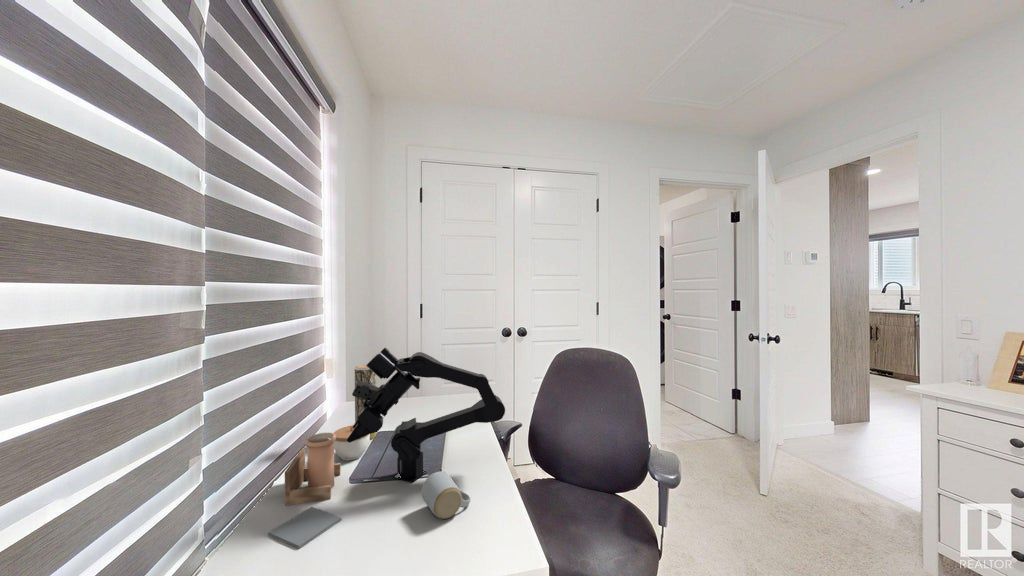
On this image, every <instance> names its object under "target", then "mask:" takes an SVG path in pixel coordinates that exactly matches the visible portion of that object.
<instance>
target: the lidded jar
mask: <svg viewBox="0 0 1024 576" xmlns="http://www.w3.org/2000/svg"><path fill="white" fill-rule="evenodd" d="M353 425H354V424H352V425H347V426H343V427H341V428H338V429H337V430H335V431H334V432H333V433H334V434H336V441H335V442H334V453H336V454H337V456H339V457H340V458H341V459H342V460H343V461H353V460H357V459H359V458H361V457H363V455H364V453H365V452H366V451H367V449H368V447H369V444H370V442H371V441H370V440H371V439H370V434H369V435H366V436H364V437H361V438H359V439H357V440H355V441H353V442H350V443H349V442H348V441H347V438H348V437H349V435H350V434H351V433H352V431H353V430H354V428H353Z"/></svg>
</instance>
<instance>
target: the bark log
mask: <svg viewBox="0 0 1024 576" xmlns="http://www.w3.org/2000/svg"><path fill="white" fill-rule="evenodd" d="M366 365H367V364H360V365H357V366H354V388H355V387H356V385H357V383H358V381H363V382H366V383H369V384H372V385H374V386H376V387H377V385H376V384H377V383H376V381H377V380H376V379H377V377H376V376H377V375H376V374H375V373H374V372H372V371H371V370H370V369H369V368H368V367H367V366H366ZM368 401H369V400H368ZM364 402H365V399H363V398H360V397H355V396H354V423H355V422H356V421H357V417H358V415H359V413H360V412H361V411H362V410H363V409H364ZM376 436H377V433H376V432H375V433H371V434H370V440H373V439H374V438H375V437H376Z"/></svg>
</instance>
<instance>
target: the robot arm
mask: <svg viewBox="0 0 1024 576" xmlns="http://www.w3.org/2000/svg"><path fill="white" fill-rule="evenodd" d="M365 365H366V366H367V367H368V368H369V369H370V370H371V371H372V372H374V373H375V374H376V376H377V377H378V378H379V379H380V380H382V379H384V380H385V379H388V378H389V379H388V380H387V382H386V383H383V384H380V386H379V387H378V386H377V385H376V386H374V385H372V384H369V383H366V382H363V381H358V383H357V385H356V387H355V386H354V389H353V391H352V394H351V395H352V396H353V397H354V398H355V397H360V398H363V399H365V402H364V409H363V410H362V411H361V412H360V413H359V415H358V417H357V421H356V422H355V421H354V424H352V425H353V428H354V430H353V431H352V433H351V434H350V435H349V437H348V438H347V441H348V442H349V443H350V442H353V441H355V440H357V439H359V438H361V437H364V436H366V435H369V434H371V433H375V432H376V434H377V433H378V432H379V431H380V430H381V428H383V424H384V417H386V415H388V412H389V410H390V409H392V407H394V405H395V406H397V404H398V403H399V400H400V399H401V398H402V397H403V396H404V395H405V394H406V393H407V392H408V391H409V390H410V389H411V387H414V388H415V389H416V390H419V389H420V387H421V386H420V385H421V383H420V381H421V378H428V379H429V378H436V379H441V380H445V381H449V382H452V383H456V384H458V385H461V386H466V387H470V388H473V389H476V390H477V392H478V394H479V395H480V398H481V399H480V400H478V401H477V402H476V403H474V404H473V405H471V406H469V407H467V408H464V409H461V410H457V411H454V412H451V413H449V414H446V415H442V416H439V417H437V418H433V419H430V420H428V421H425V422H424V421H423V422H418V421H417V418H416V417H414V418H411V419H408V420H407V421H404V420H403V421H401V424H398V425H397V426H396V427H395V429H394V431H393V433H392V434H393V435H392V437H391V441H390V446H391V448H392V450H393V451H394V452H396V453H397V459H396V461H397V463H396V464H397V465H396V466H397V467H396V469H397V474H398V473H399V474H400V476H401V478H400V477H398V478H400V479H399V480H400V481H404V482H408V483H414V482H415V481H417V480H418V479H420V478H421V477H422V476H423V475H422V474H423V473H424V472H426V471H424V470H423V469H424V452H423V451H422V443H423V442H425V441H427V439H431V438H434V437H436V436H439V435H442V434H446V433H448V432H451V431H454V430H457V429H460V428H463V427H466V426H469V425H472V424H475V423H480V424H481V423H482V424H487V423H494V422H498V421H501V420H502V419H503V418H504V416H505V413H506V407H505V404H504V403H503V401H502V400H501V398H500V397H499V396H497V395H496V394H495V393H494V391H493V389H492V388H491V386H490V382H489V379H488V378H487V376H486V375H485V374H483V373H477V372H473V371H470V370H467V369H464V368H461V367H456V366H453V365H450V364H447V363H444V362H441V361H440V360H438V359H436V358H435V357H433V356H431V355H429V354H427V353H425V352H422V351H418V352H415V353H413V354H412V355H411V356H408V357H401V358H399V359H398V357H396V356H395V355H394V354H392V352H390V350H389V349H388V348H387V347H384V348H382V350H381V351H379V353H378V354H376V355H374V357H372V359H371V360H370V361H369V362H368V363H366V364H365ZM394 373H395V374H394ZM392 375H393V376H392ZM368 400H369V401H368ZM423 471H424V472H423ZM426 473H427V472H426ZM421 475H422V476H421ZM420 476H421V477H420Z"/></svg>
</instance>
